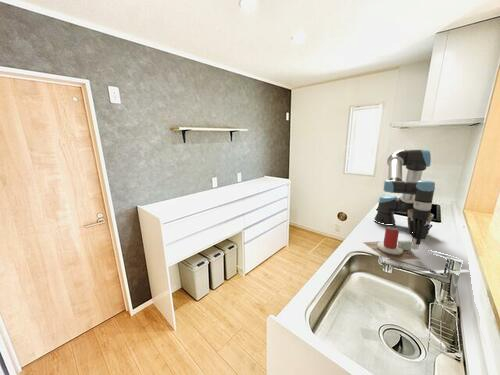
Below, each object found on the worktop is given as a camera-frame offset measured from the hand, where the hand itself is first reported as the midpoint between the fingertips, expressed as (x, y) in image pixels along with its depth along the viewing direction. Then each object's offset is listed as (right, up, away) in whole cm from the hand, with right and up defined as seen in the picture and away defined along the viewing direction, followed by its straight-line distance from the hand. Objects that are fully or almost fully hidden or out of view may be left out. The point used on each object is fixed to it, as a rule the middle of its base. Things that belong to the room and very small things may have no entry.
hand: (415, 248), depth 115 cm
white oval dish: (-6, -3, +9) cm, 11 cm away
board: (-9, -4, +9) cm, 13 cm away
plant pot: (+31, +1, +38) cm, 49 cm away
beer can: (-9, -1, +8) cm, 12 cm away
